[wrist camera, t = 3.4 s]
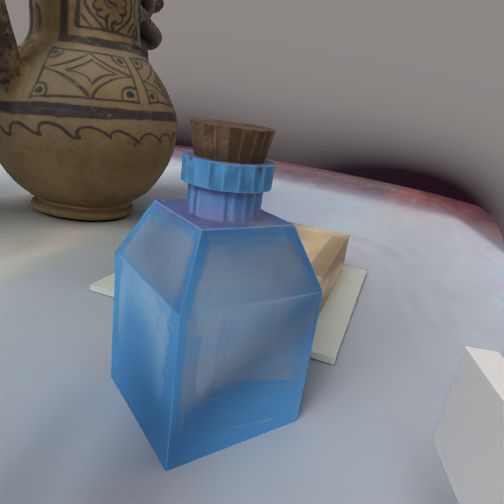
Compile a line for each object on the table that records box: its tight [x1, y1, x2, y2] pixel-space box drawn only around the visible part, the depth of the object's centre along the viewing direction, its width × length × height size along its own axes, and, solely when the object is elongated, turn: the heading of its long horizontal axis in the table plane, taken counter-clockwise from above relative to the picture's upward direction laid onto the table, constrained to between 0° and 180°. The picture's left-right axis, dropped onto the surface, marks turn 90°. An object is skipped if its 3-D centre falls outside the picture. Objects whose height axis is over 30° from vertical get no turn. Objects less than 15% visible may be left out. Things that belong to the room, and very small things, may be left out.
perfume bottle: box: [111, 118, 323, 471], centre depth 18 cm, size 6×6×12 cm
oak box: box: [289, 222, 350, 316], centre depth 33 cm, size 12×12×3 cm
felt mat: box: [90, 265, 367, 365], centre depth 33 cm, size 16×16×1 cm
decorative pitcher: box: [0, 0, 177, 220], centre depth 42 cm, size 22×18×25 cm
